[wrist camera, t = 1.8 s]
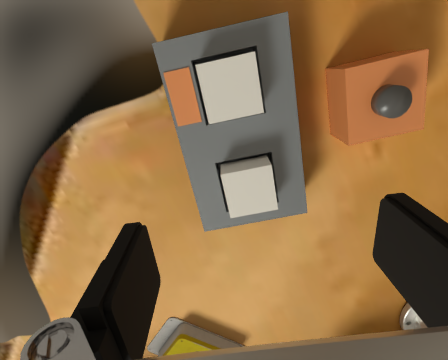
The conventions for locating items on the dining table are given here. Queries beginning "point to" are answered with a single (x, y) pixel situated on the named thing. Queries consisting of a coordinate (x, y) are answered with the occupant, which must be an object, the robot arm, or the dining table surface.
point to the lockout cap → (377, 96)
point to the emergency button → (186, 339)
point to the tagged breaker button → (230, 87)
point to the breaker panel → (241, 127)
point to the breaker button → (249, 186)
